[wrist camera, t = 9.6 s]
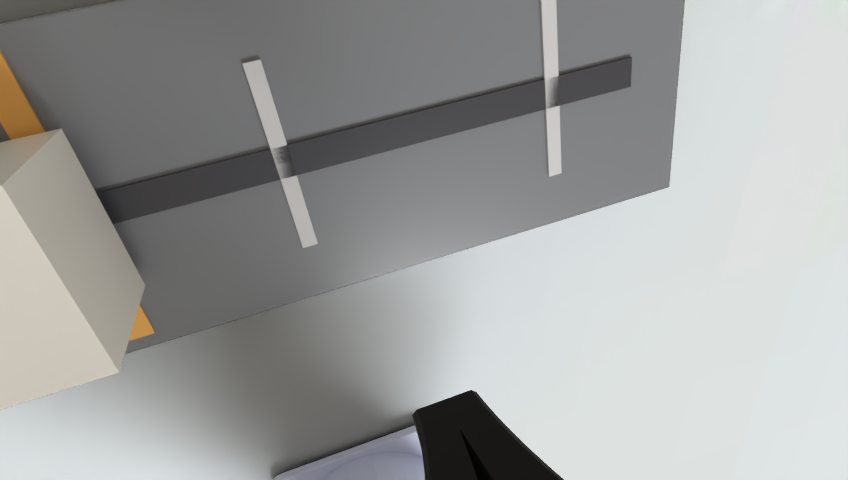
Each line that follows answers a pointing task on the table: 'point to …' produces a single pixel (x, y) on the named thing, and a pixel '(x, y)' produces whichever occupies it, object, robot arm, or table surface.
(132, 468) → the table surface
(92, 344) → the fader tab
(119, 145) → the console
